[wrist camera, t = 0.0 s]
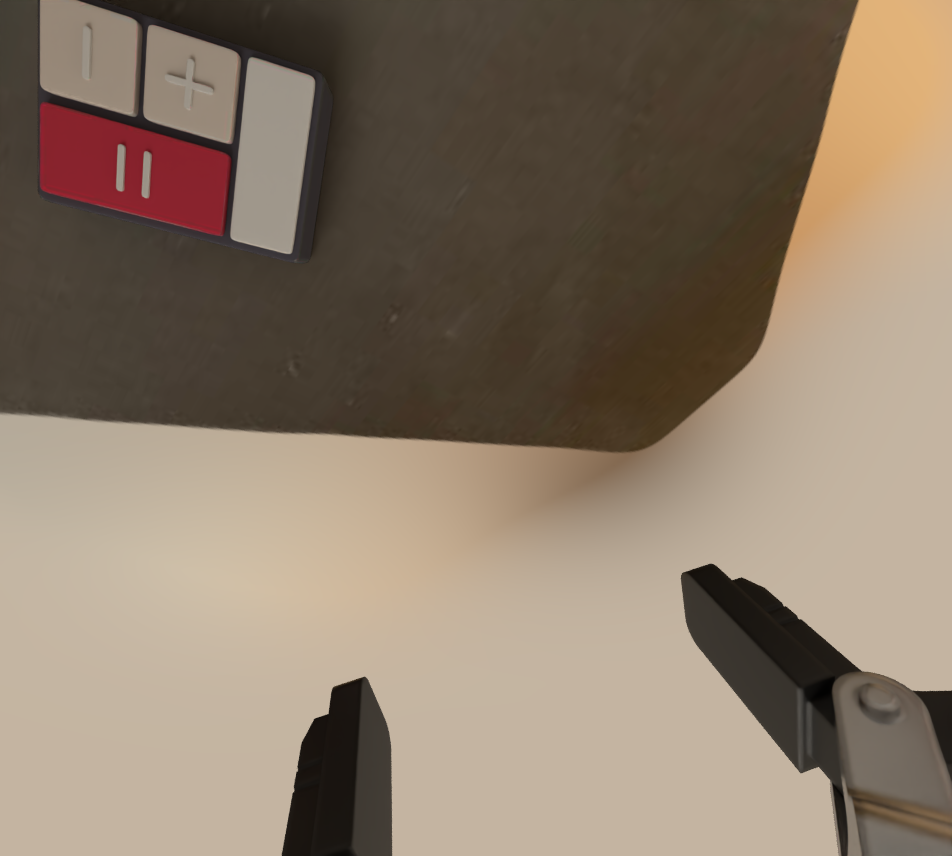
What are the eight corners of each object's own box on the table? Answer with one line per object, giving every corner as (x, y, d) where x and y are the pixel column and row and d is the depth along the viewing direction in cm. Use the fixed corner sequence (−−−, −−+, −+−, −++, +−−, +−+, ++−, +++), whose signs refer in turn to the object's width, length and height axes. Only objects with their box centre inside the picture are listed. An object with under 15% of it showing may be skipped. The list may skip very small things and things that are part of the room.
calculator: (25, -30, 25) (323, 67, 28) (79, 11, 29) (335, 92, 32) (26, 197, 28) (296, 264, 31) (75, 206, 32) (310, 265, 35)
